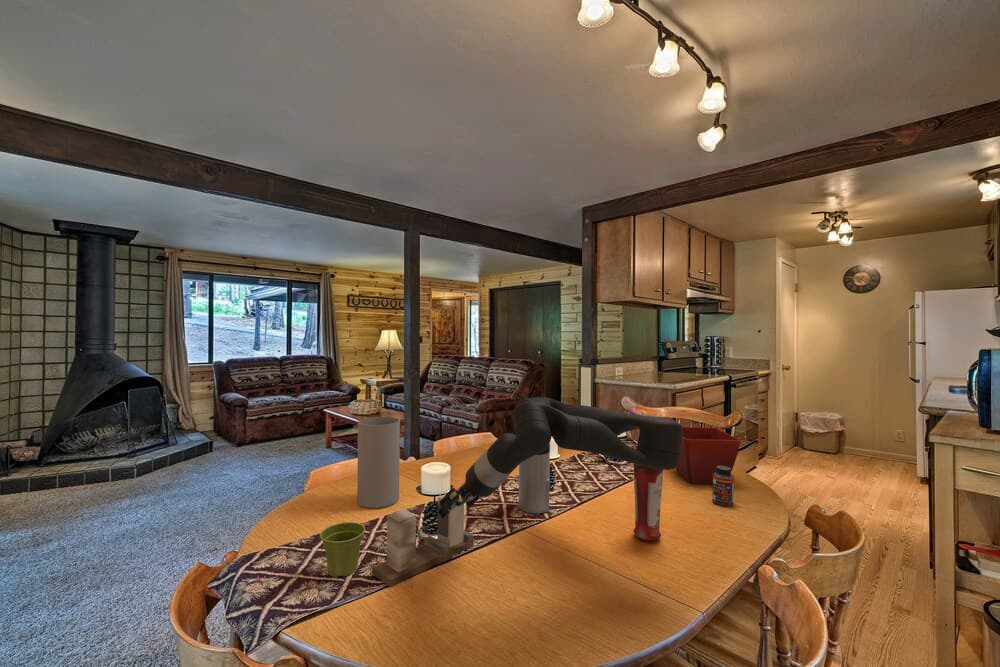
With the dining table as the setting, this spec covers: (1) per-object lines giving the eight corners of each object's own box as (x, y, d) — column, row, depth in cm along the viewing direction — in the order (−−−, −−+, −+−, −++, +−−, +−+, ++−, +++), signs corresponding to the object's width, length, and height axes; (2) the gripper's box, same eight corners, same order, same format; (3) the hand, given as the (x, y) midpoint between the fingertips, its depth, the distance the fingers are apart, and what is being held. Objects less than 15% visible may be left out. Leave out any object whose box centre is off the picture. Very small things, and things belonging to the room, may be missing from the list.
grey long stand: (454, 536, 114) (455, 488, 113) (473, 545, 109) (474, 495, 109) (372, 574, 96) (372, 517, 96) (390, 587, 91) (391, 527, 91)
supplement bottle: (712, 505, 136) (713, 468, 136) (711, 498, 142) (712, 463, 142) (734, 508, 134) (735, 471, 134) (732, 501, 140) (733, 466, 139)
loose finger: (451, 535, 111) (451, 492, 111) (463, 541, 108) (464, 496, 108) (435, 542, 107) (436, 497, 107) (447, 548, 104) (448, 502, 104)
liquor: (640, 528, 119) (642, 426, 119) (666, 538, 114) (668, 431, 114) (627, 537, 114) (629, 430, 114) (653, 547, 109) (655, 435, 109)
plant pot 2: (740, 488, 151) (742, 440, 151) (685, 487, 151) (686, 439, 151) (714, 470, 170) (715, 427, 170) (665, 469, 170) (665, 426, 170)
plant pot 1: (338, 587, 91) (339, 546, 91) (310, 573, 96) (311, 534, 96) (373, 567, 99) (374, 528, 99) (346, 555, 104) (346, 518, 104)
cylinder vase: (407, 501, 136) (407, 421, 136) (371, 513, 127) (371, 427, 127) (384, 490, 145) (385, 415, 144) (349, 501, 135) (350, 420, 135)
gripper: (475, 495, 90) (438, 533, 97) (519, 478, 100) (483, 513, 108) (457, 464, 93) (423, 503, 101) (502, 450, 104) (468, 487, 112)
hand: (454, 508), depth 105 cm, fingers open, 8 cm apart
